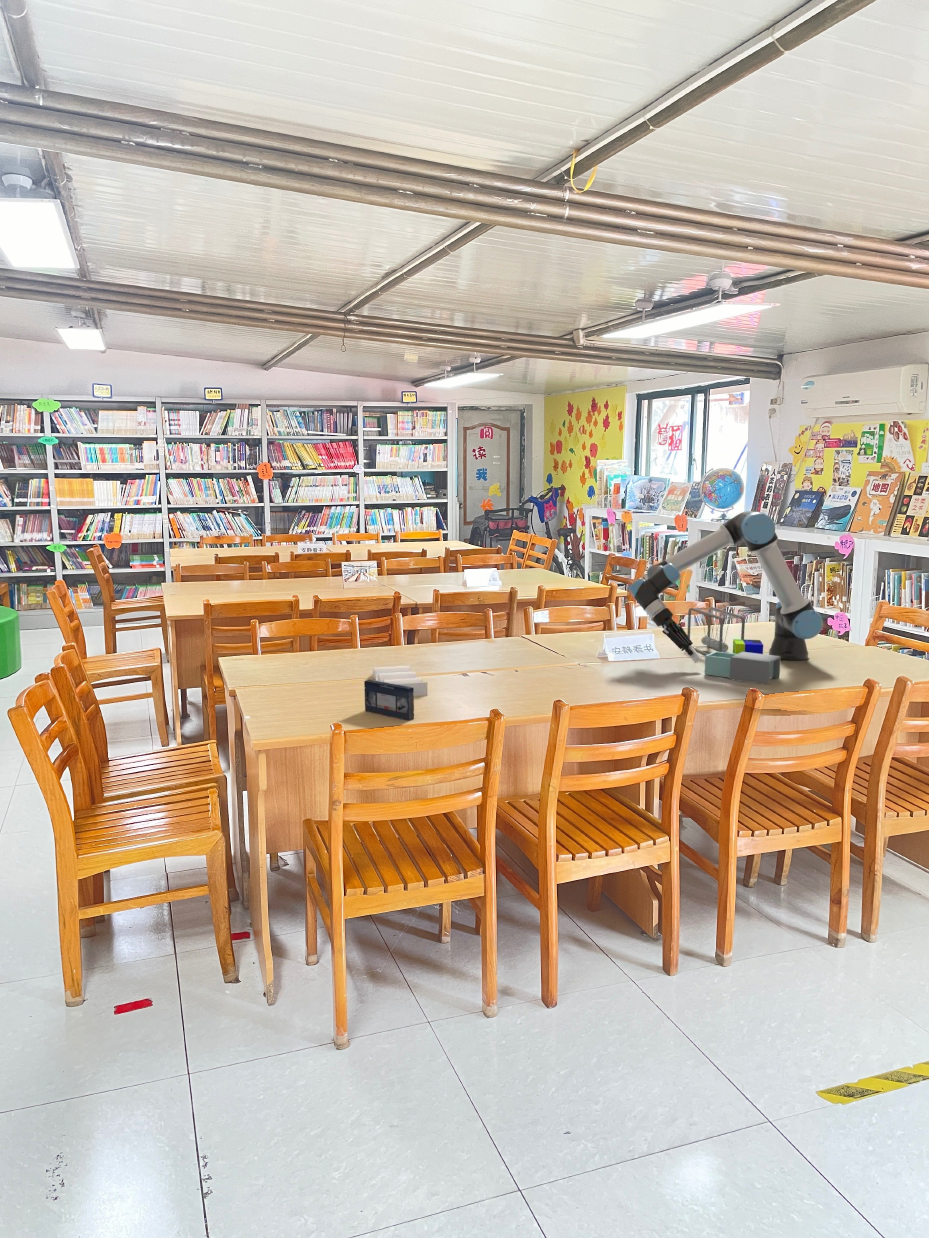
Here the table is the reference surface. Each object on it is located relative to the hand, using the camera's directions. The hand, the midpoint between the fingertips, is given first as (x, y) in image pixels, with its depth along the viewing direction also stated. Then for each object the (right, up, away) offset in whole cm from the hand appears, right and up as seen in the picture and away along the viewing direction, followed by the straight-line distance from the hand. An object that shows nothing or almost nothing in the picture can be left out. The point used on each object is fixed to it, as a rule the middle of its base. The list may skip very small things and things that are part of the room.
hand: (698, 660), depth 332 cm
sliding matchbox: (+12, -5, -9) cm, 16 cm away
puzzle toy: (+21, -3, +8) cm, 22 cm away
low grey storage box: (+17, -6, -12) cm, 22 cm away
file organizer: (-112, -8, -21) cm, 114 cm away
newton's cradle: (+15, +1, +33) cm, 37 cm away
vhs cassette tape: (-112, -14, -60) cm, 128 cm away
